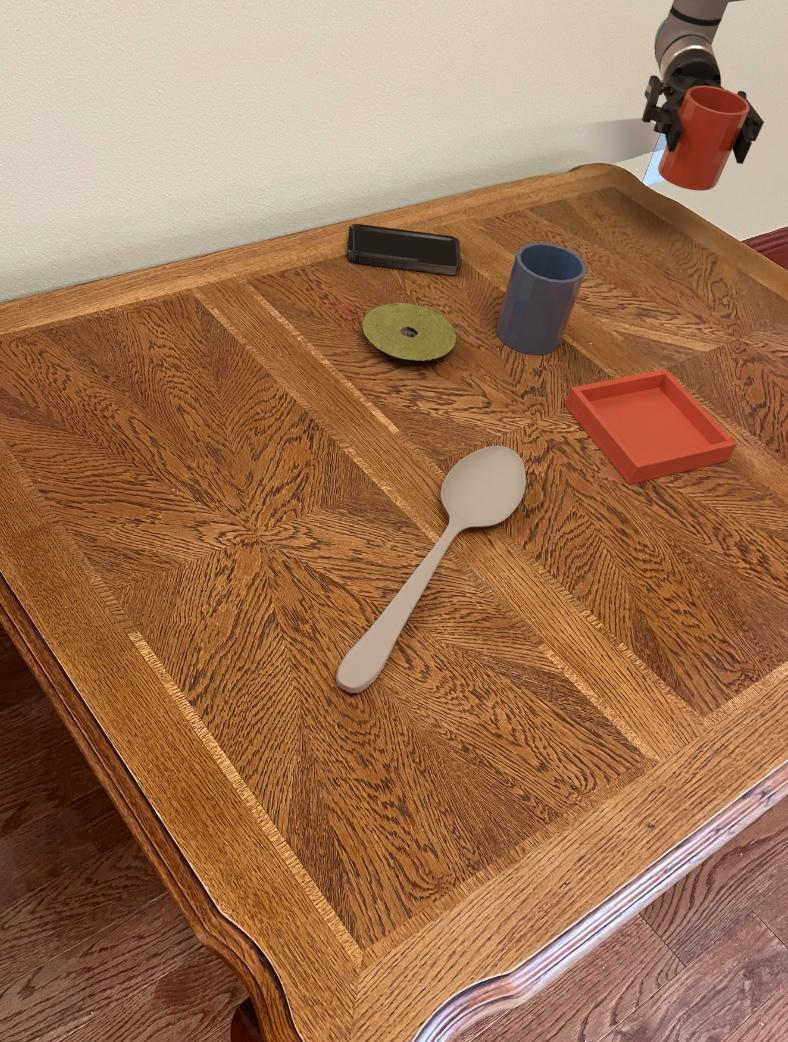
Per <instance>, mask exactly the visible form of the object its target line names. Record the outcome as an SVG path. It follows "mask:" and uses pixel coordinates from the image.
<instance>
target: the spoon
mask: <svg viewBox="0 0 788 1042" xmlns="http://www.w3.org/2000/svg"><path fill="white" fill-rule="evenodd" d="M526 475H527V474H526V469H525V465H524V462H523V460H522V458H521V457H520V455H519V454H518V452H516V450H515V451H514V450H513V449H512V448H509V447H507V446H504V445H492V446H486V447H483V448H480V449H478V450H475V451H473V452H471V453H469V454H468V455H466V456H464V457H463V458H461V459H460V460H459V461H458V462H456V463H455V464H454V465H453V466H452V467H451V469H450V470H449V471H448V473H447V474H446V476H445V478H444V479H443V482H442V485H441V488H440V499H441V503H442V506H443V507H444V509H445V511H446V512H447V514H448V516H449V521H448V525H447V527H446V528H445V530H444V532H443V533H442V535H441V536H440V537H439V539H438V540H437V541H436V543H435V544H434V545H433V547H432V548H431V550H430V551H429V552H428V554H426V556H425V557H424V559H422V561H421V562H420V563H419V565H418V567H416V569H414V571H413V573H412V574H411V575H410V576H409V578H408V579H407V580H406V581H405V583H404V584H403V585H402V587H401V588H400V589H399V591H398V592H397V594H396V595H395V596H394V597H393V599H392V600H391V601H390V602H389V604H388V605H387V606H386V608H385V609H384V610H383V611H382V613H381V614H380V615H379V616H378V618H377V619H376V620H375V622H374V623H373V624H372V625H371V626H370V627H369V628H368V630H367V631H366V632H365V633H364V634H363V635H362V636H361V638H359V640H357V642H356V643H354V645H353V646H352V647H351V648H350V649H349V650H348V651H347V652H346V654H345V656H344V657H343V659H342V660H341V661H340V664H339V666H338V669H337V672H336V675H335V683H336V685H337V686H338V687H339V688H340V689H341V690H343V691H344V690H345V691H344V692H346V693H348V692H349V694H352V693H357V694H360V693H362V692H364V691H365V690H367V689H368V688H369V687H370V686H372V684H374V683H375V681H376V680H377V679H378V678H379V676H380V675H381V673H382V672H381V670H382V669H383V670H384V668H385V666H386V664H387V662H388V660H389V658H390V656H391V653H392V651H393V649H394V647H395V644H396V643H397V641H398V639H399V637H400V635H401V633H402V631H403V629H404V627H405V626H406V623H407V622H408V620H409V618H410V616H411V614H412V613H413V611H414V609H415V607H416V606H417V603H418V602H419V601H420V599H421V597H422V595H423V593H424V591H425V590H426V588H427V586H428V584H429V582H430V581H431V579H432V577H433V576H434V573H435V572H436V570H437V568H438V566H439V564H440V563H441V561H442V559H443V557H444V555H445V554H446V552H447V550H448V548H449V547H450V545H451V544H452V542H453V541H454V539H455V538H456V537H457V536H458V535H459V534H460V533H461V532H462V531H463V530H466V529H468V528H487V527H493V526H496V525H499V524H500V523H503V522H504V521H506V520H507V519H508V518H509V517H510V516H511V515H512V514H513V513H514V511H516V509H517V507H518V506H519V505H520V503H521V501H522V500H523V496H524V494H525V491H526V490H525V489H526V484H527V476H526ZM389 655H390V656H389ZM387 659H388V660H387ZM385 663H386V664H385ZM384 665H385V666H384ZM383 670H382V671H383ZM380 672H381V673H380ZM379 674H380V675H379ZM378 675H379V676H378ZM377 677H378V678H377ZM376 678H377V679H376ZM371 683H372V684H371ZM369 685H370V686H369ZM367 687H368V688H367ZM366 688H367V689H366ZM364 689H365V690H364ZM363 690H364V691H363ZM361 691H362V692H361ZM359 692H360V693H359Z"/></svg>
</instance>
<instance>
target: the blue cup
mask: <svg viewBox="0 0 788 1042" xmlns="http://www.w3.org/2000/svg"><path fill="white" fill-rule="evenodd" d="M587 269H588V268H587V265H586V263H585V261H584V260H583V258H582V257H581V256H580V255H579V254H577V253H575V251H572V250H571V249H569V248H567V247H565V246H561V245H558V244H555V243H549V242H533V243H527V244H526V245H523V246H521V247H520V248H519V249H518V251H517V252H516V255H515V257H514V261H513V264H512V268H511V271H510V275H509V278H508V282H507V286H506V288H505V293H504V296H503V299H502V302H501V307H500V310H499V313H498V317H497V321H496V325H495V326H496V327H495V332H496V335H497V337H498V338H499V339H500V341H501V342H502V343H504V344H505V345H506V346H507V347H509V348H511V349H513V350H514V351H517V352H519V353H523V354H527V355H537V356H538V355H541V356H542V355H546V354H547V355H548V354H550V353H552V352H554V351H557V349H558V348H559V347H560V345H561V343H562V339H563V338H564V335H565V333H566V329H567V326H568V324H569V321H570V318H571V315H572V313H573V309H574V307H575V304H576V301H577V298H578V295H579V293H580V290H581V286H582V284H583V282H584V278H585V276H586V274H587Z"/></svg>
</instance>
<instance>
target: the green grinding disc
mask: <svg viewBox="0 0 788 1042" xmlns="http://www.w3.org/2000/svg"><path fill="white" fill-rule="evenodd" d="M362 330H363V334H364V336H365V337H366V338H367V340H368V341H369V342H370V343H371V344H372V345H373V346H374V347H375V348H376V349H378V350H380V351H381V352H383V353H386V354H387V355H389V356H392V357H394V358H398V359H402V360H407V361H408V360H409V361H417V362H419V361H424V362H425V361H432V359H433V360H436V359H439V358H441V357H444V356H445V355H447V354H448V353H449V352H450V351H451V350H452V349H453V348H454V347H455V345H456V342H457V334H456V330H455V329H454V326H453V325H452V324H451V323H450V321H449V320H448V319H447V318H445V317H444V316H443V315H442V314H441V313H438V312H437V311H435V310H434V309H430V308H428V307H426V306H422V305H419V304H413V303H406V302H405V303H404V302H399V303H397V302H396V303H386V304H383V305H379V306H377V307H374V308H372V309H371V310H370V311H369V312H367V314H366V315H365V316H364V318H363V321H362Z"/></svg>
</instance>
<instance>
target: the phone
mask: <svg viewBox="0 0 788 1042" xmlns="http://www.w3.org/2000/svg"><path fill="white" fill-rule="evenodd" d="M346 246H347V247H346V259H347V260H348V261H349V262H350V263H355V264H360V265H361V264H362V265H368V266H377V267H384V268H391V269H399V270H407V271H416V272H424V273H430V274H439V275H447V276H457V275H459V274H460V271H461V266H462V256H461V242H460V239H459V238H458V237H456V236H453V235H446V234H438V233H431V232H422V231H415V230H408V229H401V228H392V227H385V226H379V225H369V224H362V223H352V224H350V225H349V227H348V232H347V245H346Z"/></svg>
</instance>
